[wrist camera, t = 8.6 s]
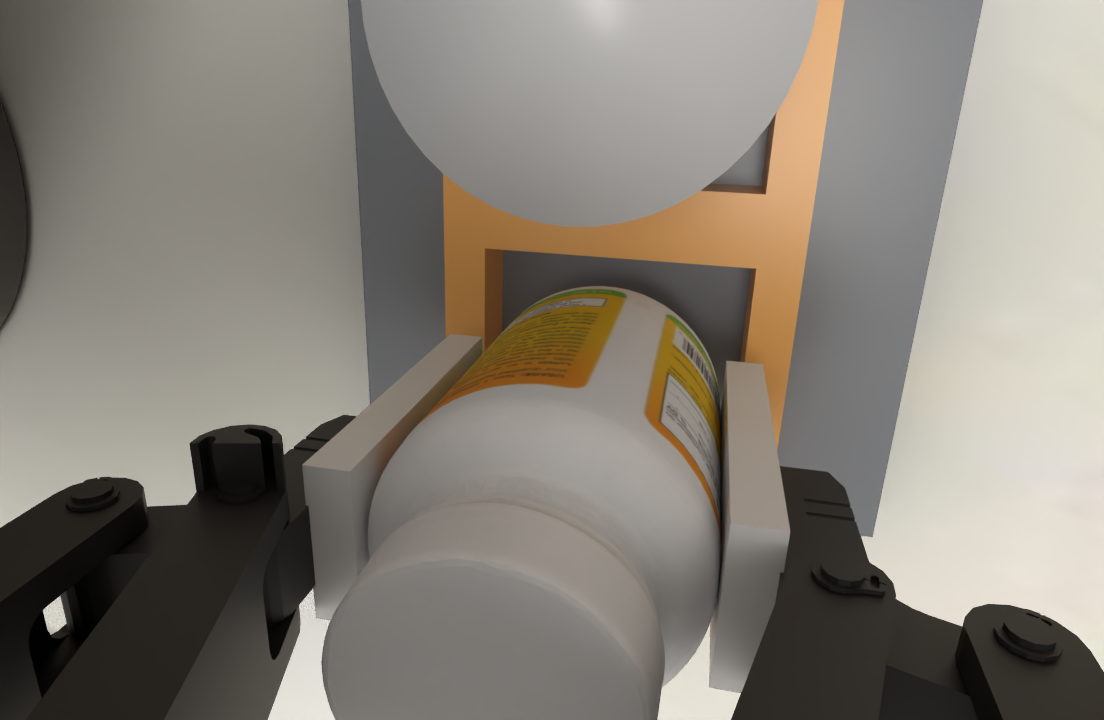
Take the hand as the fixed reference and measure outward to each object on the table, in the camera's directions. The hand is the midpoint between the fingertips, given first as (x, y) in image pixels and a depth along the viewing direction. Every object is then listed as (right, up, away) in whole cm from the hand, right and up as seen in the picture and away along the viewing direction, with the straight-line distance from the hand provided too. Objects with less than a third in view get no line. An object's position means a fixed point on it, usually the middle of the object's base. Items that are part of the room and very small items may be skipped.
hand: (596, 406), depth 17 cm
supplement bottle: (0, 0, +1) cm, 1 cm away
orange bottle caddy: (+1, +5, +3) cm, 6 cm away
